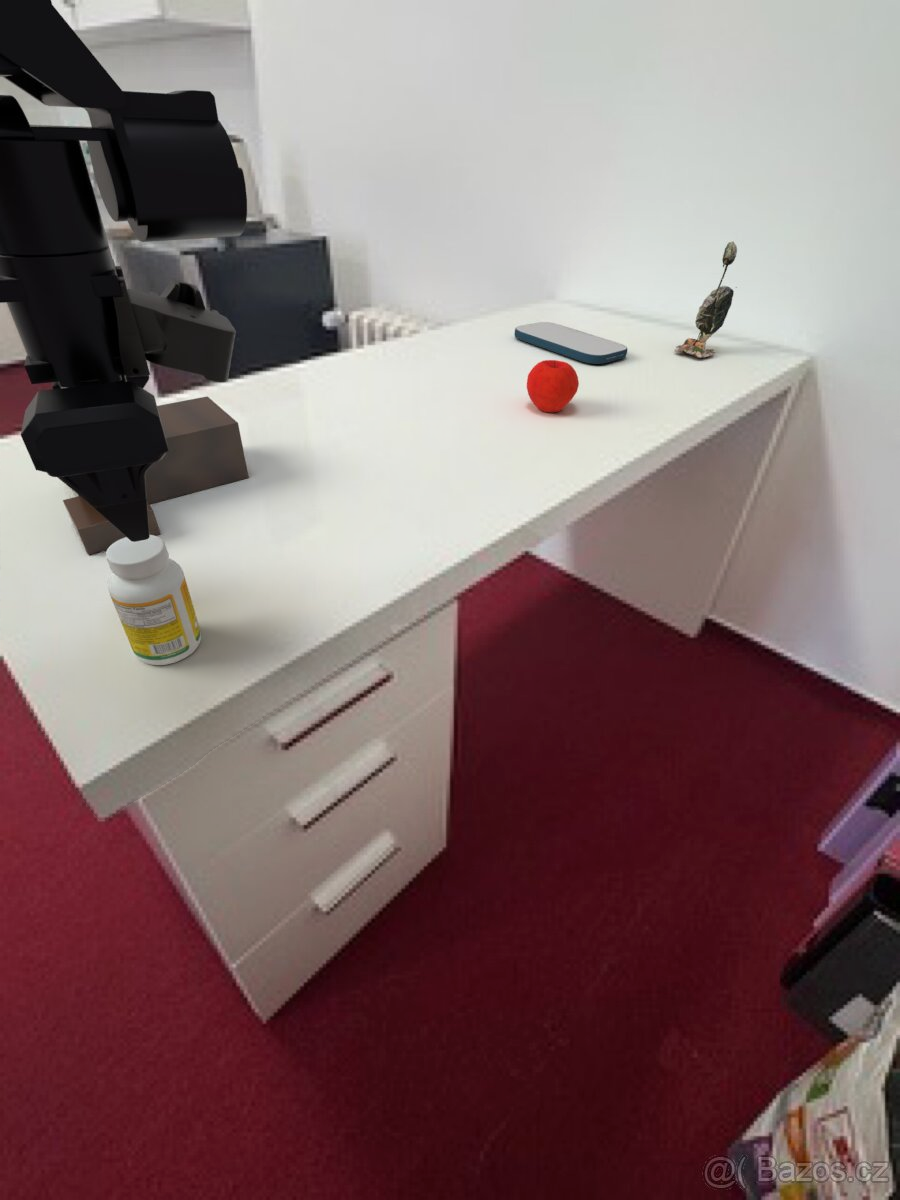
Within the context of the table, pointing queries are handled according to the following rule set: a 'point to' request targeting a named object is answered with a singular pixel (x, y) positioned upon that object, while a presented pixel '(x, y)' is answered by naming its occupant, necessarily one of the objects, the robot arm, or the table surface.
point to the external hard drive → (571, 342)
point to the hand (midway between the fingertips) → (136, 505)
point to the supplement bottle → (152, 601)
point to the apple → (552, 385)
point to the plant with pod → (712, 312)
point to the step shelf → (174, 466)
